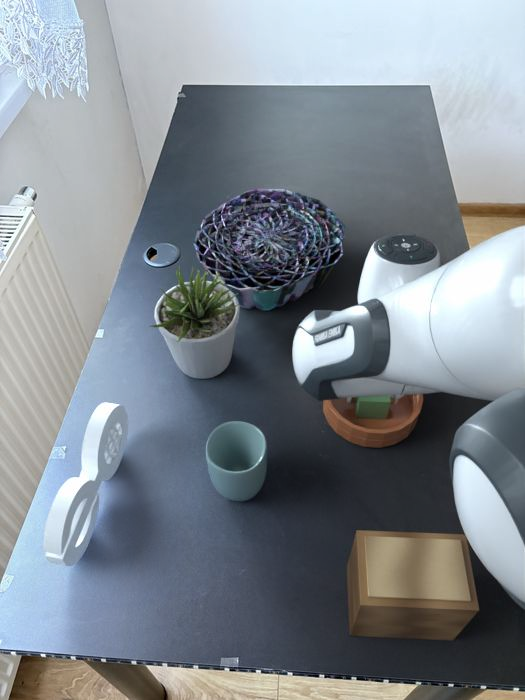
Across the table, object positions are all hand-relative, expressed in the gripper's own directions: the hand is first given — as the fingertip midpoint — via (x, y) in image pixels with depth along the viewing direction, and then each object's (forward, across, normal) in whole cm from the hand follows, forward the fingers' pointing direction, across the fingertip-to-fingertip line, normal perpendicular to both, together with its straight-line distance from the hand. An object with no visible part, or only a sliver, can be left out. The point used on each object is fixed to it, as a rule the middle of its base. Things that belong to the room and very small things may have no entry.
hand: (371, 400), depth 89 cm
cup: (+2, -19, -13) cm, 23 cm away
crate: (+2, +1, -28) cm, 28 cm away
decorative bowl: (+2, -16, +30) cm, 34 cm away
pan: (+2, 0, 0) cm, 2 cm away
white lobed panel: (+2, -38, -16) cm, 41 cm away
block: (+2, 0, 0) cm, 2 cm away
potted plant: (+2, -27, +8) cm, 28 cm away
